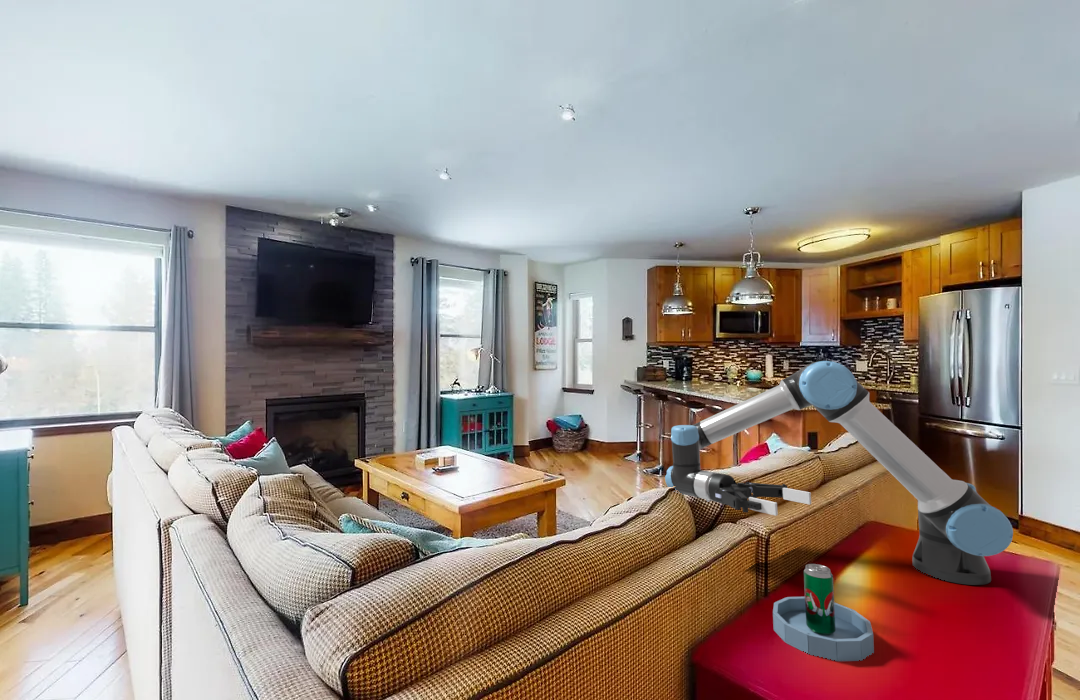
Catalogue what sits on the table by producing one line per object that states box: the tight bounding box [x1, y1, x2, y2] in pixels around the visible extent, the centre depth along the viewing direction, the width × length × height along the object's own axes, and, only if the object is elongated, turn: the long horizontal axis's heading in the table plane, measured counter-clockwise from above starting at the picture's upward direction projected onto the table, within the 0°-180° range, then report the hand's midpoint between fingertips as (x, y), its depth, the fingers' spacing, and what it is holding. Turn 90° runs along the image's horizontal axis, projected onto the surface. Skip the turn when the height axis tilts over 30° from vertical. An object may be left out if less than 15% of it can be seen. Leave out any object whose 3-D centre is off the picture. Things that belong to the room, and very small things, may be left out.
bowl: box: [772, 596, 875, 662], centre depth 94 cm, size 17×17×4 cm
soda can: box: [803, 563, 836, 635], centre depth 94 cm, size 5×5×12 cm
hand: (794, 503), depth 108 cm, fingers open, 13 cm apart
